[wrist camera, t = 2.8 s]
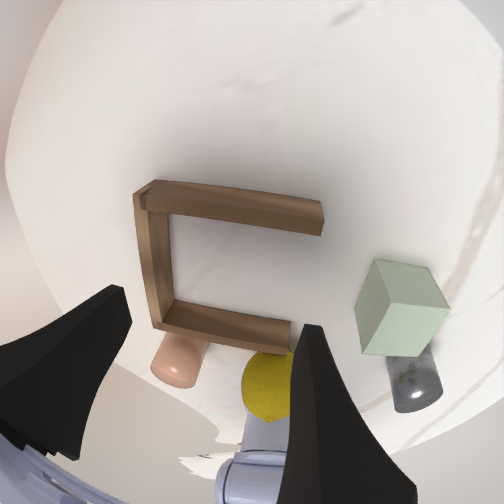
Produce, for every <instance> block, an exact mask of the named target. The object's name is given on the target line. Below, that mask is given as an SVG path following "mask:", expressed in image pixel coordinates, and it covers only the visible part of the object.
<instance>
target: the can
mask: <svg viewBox="0 0 504 504" xmlns="http://www.w3.org/2000/svg"><path fill="white" fill-rule="evenodd" d="M386 363H387V368H388V373H389V378H390V383H391V389H392V395H393V401H394V407H395V411H396V412H399V413H410V412H415V411H418V410H421V409H423V408H425V407H427V406H429V405H431V404H433V403H434V402H435V401H437V400H438V399H439V398H440V397H441V395H442V394H443V388H442V385H441V381H440V378H439V375H438V371H437V368H436V365H435V362H434V359H433V356H432V353H431V350H430V347H429V344H427V345H426V347H425V348H424V349H423V351H422V352H421V353H420V355H419V356H418V357H407V356H387V357H386Z"/></svg>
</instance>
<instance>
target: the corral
mask: <svg viewBox="0 0 504 504" xmlns="http://www.w3.org/2000/svg"><path fill="white" fill-rule="evenodd" d="M133 205H134V215H135V225H136V233H137V241H138V249H139V256H140V262H141V269H142V275H143V280H144V286H145V291H146V297H147V302H148V307H149V311H150V316H151V321H152V325H153V328H155V329H159V330H163V331H166V332H170V333H174V334H178V335H182V336H186V337H190V338H195V339H199V340H204V341H208V342H213V343H217V344H222V345H227V346H232V347H238V348H243V349H248V350H254V351H260V352H266V353H273V354H279V355H287V352H288V349H289V339H290V324H291V322H289V321H283V320H277V319H270V318H264V317H258V316H252V315H247V314H241V313H236V312H230V311H225V310H220V309H215V308H210V307H205V306H200V305H195V304H191V303H186V302H182V301H177V300H174V291H173V282H172V271H171V260H170V247H169V231H168V213H171V214H179V215H186V216H193V217H201V218H208V219H215V220H222V221H228V222H235V223H242V224H248V225H255V226H261V227H267V228H274V229H280V230H286V231H292V232H298V233H304V234H310V235H316V236H321V233H322V228H323V224H324V216H323V212H322V207H321V203H320V201H315V200H310V199H304V198H298V197H292V196H286V195H280V194H273V193H267V192H260V191H253V190H245V189H238V188H230V187H222V186H214V185H205V184H196V183H186V182H175V181H164V180H153V181H152V182H150V183H148V184H147V185H145V186H144V187H142V188H141V189H139V190H138V191H136V192H135V193H133Z"/></svg>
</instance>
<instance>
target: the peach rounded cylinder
mask: <svg viewBox="0 0 504 504" xmlns="http://www.w3.org/2000/svg"><path fill="white" fill-rule="evenodd" d="M208 345H209V342H208V341H204V340H199V339H195V338H190V337H186V336H182V335H178V334H174V333H170V332H167V333H166V335H165V337H164V339H163V341H162V343H161V345H160V347H159V349H158V351H157V353H156V355H155V357H154V359H153V361H152V363H151V366H150V369H151V371H152V373H153V374H154V375H155V376H156V377H157V378H158V379H160V380H161V381H163V382H164V383H166V384H168V385H171V386H174V387H177V388H184V389H187V388H192V387H193V386H194V385H195V383H196V380H197V377H198V374H199V371H200V368H201V365H202V362H203V359H204V356H205V353H206V350H207V348H208Z"/></svg>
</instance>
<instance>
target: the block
mask: <svg viewBox="0 0 504 504" xmlns="http://www.w3.org/2000/svg"><path fill="white" fill-rule="evenodd" d="M354 310H355V315H356V320H357V325H358V331H359V337H360V343H361V349H362V354H366V355H382V356H407V357H418V356H419V355H420V353H421V352H422V351H423V349H424V348H425V347H426V345H427V344H428V343H429V341H430V340H431V338H432V337H433V336H434V334H435V333H436V331H437V330H438V328H439V327H440V325H441V324H442V322H443V321H444V319H445V318H446V316H447V314H448V313H449V311H450V310H451V309H450V307H449V305H448V303H447V301H446V299H445V297H444V296H443V294H442V292H441V290H440V288H439V287H438V285H437V283H436V281H435V280H434V278H433V276H432V275H431V273H430V271H429V270H428V268H425V267H419V266H414V265H409V264H403V263H398V262H392V261H387V260H381V259H376V258H374V261H373V264H372V266H371V269H370V272H369V274H368V277H367V279H366V282H365V284H364V286H363V289H362V291H361V294H360V296H359V298H358V301H357V303H356V305H355V308H354Z"/></svg>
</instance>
